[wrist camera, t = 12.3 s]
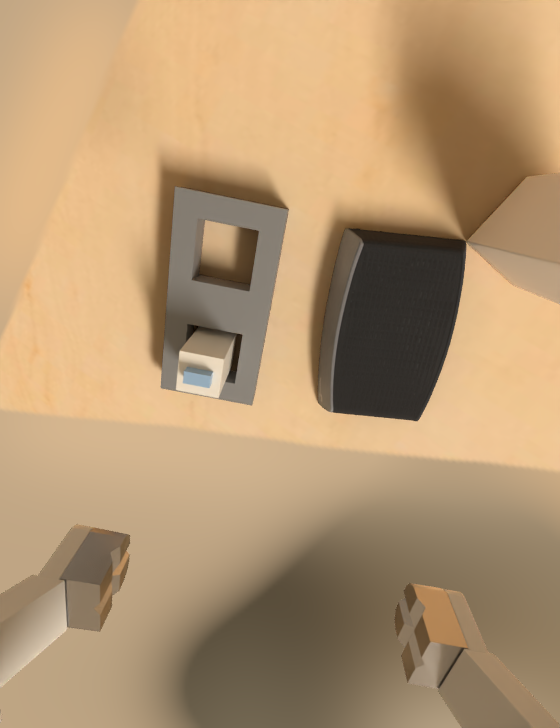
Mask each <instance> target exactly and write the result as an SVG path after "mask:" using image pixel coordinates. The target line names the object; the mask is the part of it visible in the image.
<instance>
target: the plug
mask: <svg viewBox="0 0 560 728" xmlns="http://www.w3.org/2000/svg"><path fill="white" fill-rule="evenodd" d="M236 338H237V333H232V332H227V331H222V330H217V329H211V328H206V327H201V326H199V327H198V328H197V330H196V331H195V332H194V333H193V335H192V336H191V337H190V338H189V340H188V341H187V342H186V343H185V345H184V346H183V347H182V348H181V350H180V352H179V362H178V373H177V383H176V390H178V391H183V392H188V393H194V394H199V395H204V396H209V397H214V398H219V396H220V393H221V391H222V388H223V386H224V383H225V381H226V379H227V376H228V374H229V371H230V369H231V366H232V363H233V357H234V351H235V344H236Z"/></svg>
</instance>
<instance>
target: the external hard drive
mask: <svg viewBox="0 0 560 728" xmlns="http://www.w3.org/2000/svg"><path fill="white" fill-rule="evenodd" d="M465 259H466V242H465V241H463V240H454V239H444V238H436V237H425V236H417V235H406V234H396V233H387V232H381V231H380V232H377V231H368V230H360V229H350V228H349V229H345V230H344V233H343V237H342V240H341V243H340V247H339V251H338V255H337V259H336V263H335V267H334V271H333V276H332V280H331V285H330V290H329V295H328V300H327V305H326V311H325V317H324V324H323V331H322V339H321V348H320V358H319V374H318V403H319V404H320V405H321V406H322V407H323V408H324V409H326V410H327V411H329V412H334V413H343V414H354V415H363V416H374V417H384V418H394V419H404V420H413V421H418V420H419V419H420V417H421V415H422V413H423V411H424V409H425V407H426V405H427V403H428V401H429V399H430V397H431V395H432V392H433V390H434V387H435V385H436V383H437V380H438V377H439V375H440V372H441V370H442V367H443V364H444V361H445V358H446V355H447V352H448V349H449V345H450V342H451V338H452V334H453V330H454V326H455V322H456V317H457V313H458V307H459V302H460V297H461V291H462V285H463V278H464V270H465Z"/></svg>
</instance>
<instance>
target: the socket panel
mask: <svg viewBox="0 0 560 728" xmlns="http://www.w3.org/2000/svg"><path fill="white" fill-rule="evenodd" d="M288 211H289V209H286V208H281V207H276V206H271V205H266V204H261V203H256V202H252V201H247V200H242V199H237V198H232V197H227V196H222V195H218V194H213V193H208V192H203V191H198V190H193V189H189V188H183V187H175V193H174V207H173V221H172V235H171V249H170V263H169V278H168V292H167V306H166V320H165V334H164V348H163V362H162V376H161V388H163V389H168V390H173V391H178V390H176V383H177V373H178V362H179V352H180V350H181V348H182V347H183V346H184V345H185V343H186V342H187V341H188V340H189V338H190V337H191V336H192V335H193V330H194V325H196V326H201V327H206V328H211V329H217V330H222V331H227V332H232V333H237V334H242V335H243V336H242V342H241V349H240V355H239V361H238V367H237V372H236V371H231V370H230V371H229V374H228V376H227V379H226V381H225V383H224V386H223V388H222V391H221V393H220V396H219V398H215V399H221V400H226V401H231V402H236V403H242V404H247V405H252V404H253V399H254V395H255V390H256V385H257V379H258V374H259V369H260V363H261V358H262V352H263V347H264V342H265V336H266V331H267V325H268V320H269V314H270V309H271V304H272V298H273V293H274V287H275V282H276V276H277V271H278V266H279V260H280V255H281V249H282V244H283V238H284V233H285V228H286V222H287V217H288ZM205 220H208V221H213V222H218V223H223V224H228V225H233V226H238V227H243V228H248V229H253V230H257V231H259V235H258V241H257V248H256V254H255V260H254V267H253V273H252V279H251V285H249V284H244V283H239V282H234V281H229V280H224V279H219V278H214V277H208V276H203V275H199V272H200V262H201V253H202V243H203V233H204V224H205ZM178 392H183V391H178ZM184 393H188V392H184ZM189 394H194V393H189ZM194 395H199V394H194ZM199 396H204V395H199ZM205 397H209V396H205ZM210 398H214V397H210Z"/></svg>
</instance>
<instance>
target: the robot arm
mask: <svg viewBox="0 0 560 728" xmlns="http://www.w3.org/2000/svg"><path fill="white" fill-rule="evenodd" d="M129 544H130V535H128V534H123V533H118V532H113V531H109V530H104V529H99V528H94V527H88V526H83V525H78V524H77V525H75V526H74V527H73V528H71V529H70V531H69V532H68V534H67V535H66V536H65V538H64V539H63V541H62V542H61V544H60V545H59V547H58V548H57V549H56V551H55V552H54V553H53V555H52V556H51V558H50V559H49V561H48V562H47V563H46V565H45V566H44V568H43V569H42V570H41V572H40V574H39V575H38V576H36V575H31V576H30V577H28V578H26V579H25V580H23V581H21V582H20V583H18V584H16V585H15V586H13V587H11V588H10V589H8V590H7V591H5V592H3V593H1V594H0V687H2V686H3V685H4V684H5V683H6V682H7V681H8V680H10V679H11V678H12V677H13V676H14V675H15V674H17V673H18V672H19V671H20V670H21V669H22V668H23V667H25V666H26V665H27V664H28V663H29V662H30V661H32V660H33V659H34V658H35V657H36V656H37V655H38V654H40V653H41V652H42V651H43V650H44V649H45V648H46V647H48V646H49V645H50V644H51V643H52V642H53V641H55V640H56V639H57V638H58V637H59V636H60V635H61V634H63V633H64V632H65V631H66V630H67V627H69V628H77V629H84V630H92V631H99V632H100V631H101V629H102V627H103V624H104V622H105V620H106V618H107V616H108V614H109V612H110V610H111V607H112V595H114V594H115V593H117V592H118V591H119V590H120V588H121V586H122V583H123V581H124V578H125V575H126V572H127V569H128V564H129V554H128V552H127V551H126V550H127V548H128V546H129ZM404 595H405V598H404V599H402V600H400V601H399V602H398V605H397V607H396V609H395V619H394V620H395V630H396V635H397V638H398V640H399V641H400V642H401V644H402V645H403V646H404V650H403V653H402V655H401V657H402V661H403V666H404V670H405V674H406V679H407V683H409V684H414V685H420V686H424V687H429V688H434V689H439V690H438V692H439V694H440V695H441V697H442V698H443V700H444V701H445V703H446V704H447V706H448V707H449V709H450V710H451V712H452V713H453V715H454V717H455V718H456V720H457V721H458V723H459V724H460V726H461V727H462V728H560V724H559V723H558V722H557V721H556V720H555V719H554V718H553V717H552V716H551V715H550V713H549V712H548V711H547V710H546V709H545V708H544V707H543V706H542V705H541V704H540V703H539V702H538V701H537V699H536V698H535V697H534V696H532V694H531V693H530V692H529V691H528V690H527V689H526V688H525V687H524V686H523V685H522V683H520V681H519V680H518V679H517V678H516V677H515V676H514V675H513V674H512V673H511V672H510V671H509V670H508V668H507V667H506V666H505V665H504V664H503V663H502V662H501V661H500V660H499V659H498V658H497V657H496V656H495V655H494V654H492V653H488V650H487V648H486V646H485V644H484V641H483V639H482V636H481V634H480V632H479V629H478V627H477V625H476V622H475V620H474V618H473V615H472V613H471V611H470V608H469V606H468V604H467V602H466V599H465V597H464V595H463V594H462V593H461V592H457V591H451V590H446V589H442V588H437V587H430V586H423V585H418V584H411V583H409V584H408V585H406V587H405V590H404ZM1 720H2V718H1V712H0V722H1Z"/></svg>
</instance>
